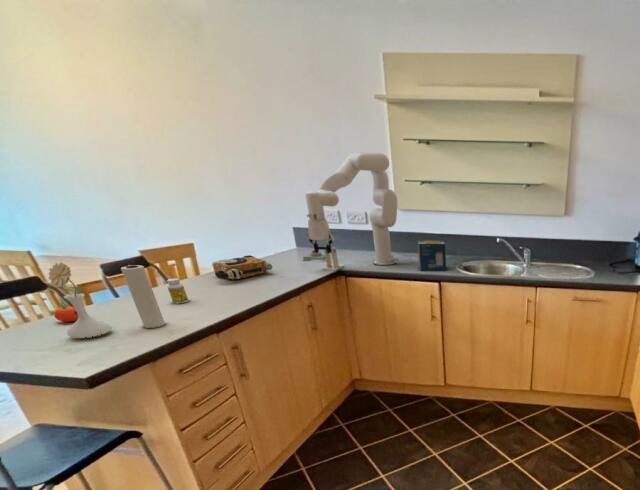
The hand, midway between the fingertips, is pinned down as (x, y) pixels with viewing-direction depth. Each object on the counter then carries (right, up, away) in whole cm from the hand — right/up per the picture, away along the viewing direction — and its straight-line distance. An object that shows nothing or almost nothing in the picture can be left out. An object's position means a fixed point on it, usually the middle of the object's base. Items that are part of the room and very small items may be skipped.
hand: (323, 251), depth 227 cm
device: (-39, -16, -9) cm, 43 cm away
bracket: (0, -6, +13) cm, 14 cm away
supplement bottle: (-38, -37, -50) cm, 73 cm away
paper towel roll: (-28, -51, -74) cm, 94 cm away
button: (-20, +10, +33) cm, 39 cm away
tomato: (-60, -49, -73) cm, 107 cm away
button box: (-20, +6, +34) cm, 40 cm away
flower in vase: (-40, -56, -85) cm, 109 cm away
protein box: (+56, -3, +22) cm, 60 cm away
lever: (0, +1, +4) cm, 4 cm away
